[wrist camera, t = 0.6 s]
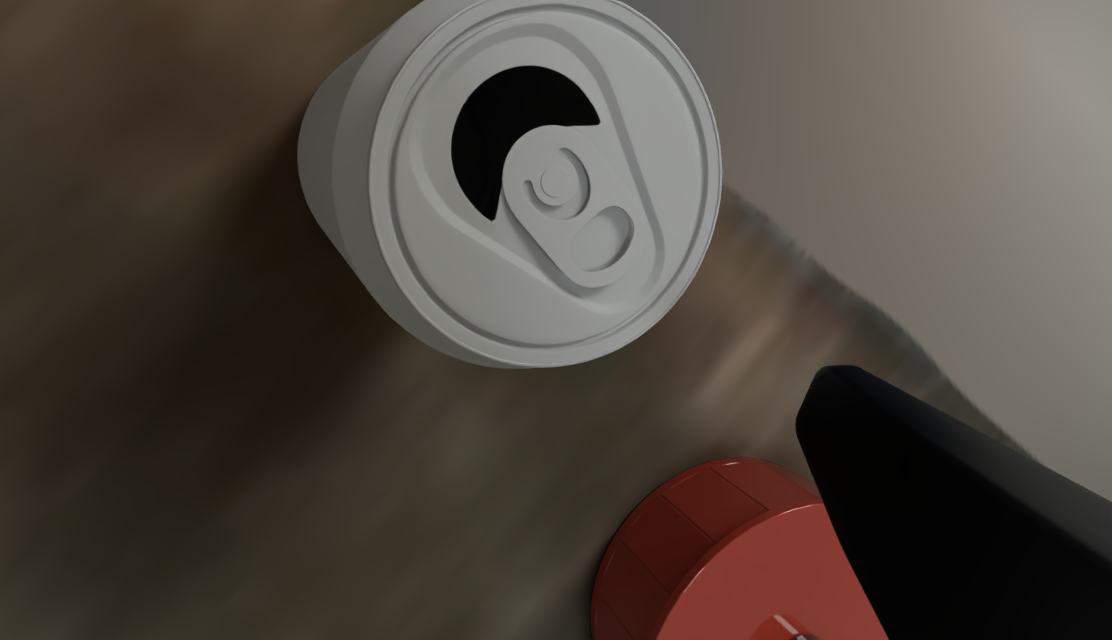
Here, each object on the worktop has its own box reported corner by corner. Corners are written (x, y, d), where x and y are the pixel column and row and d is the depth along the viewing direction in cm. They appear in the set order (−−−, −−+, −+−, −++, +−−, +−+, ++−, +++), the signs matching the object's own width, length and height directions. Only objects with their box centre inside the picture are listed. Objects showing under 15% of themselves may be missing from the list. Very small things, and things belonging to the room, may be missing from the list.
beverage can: (420, -5, 22) (591, -149, 11) (559, 175, 24) (811, 206, 13) (243, 148, 21) (231, 157, 10) (405, 316, 23) (537, 472, 12)
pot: (763, 722, 32) (837, 807, 28) (546, 688, 28) (595, 782, 24) (866, 493, 32) (957, 546, 28) (659, 424, 27) (730, 474, 23)
